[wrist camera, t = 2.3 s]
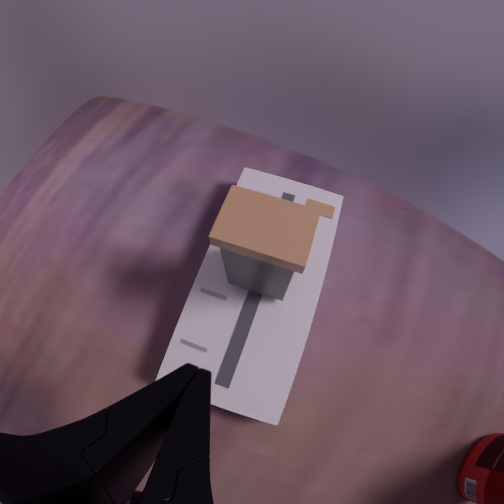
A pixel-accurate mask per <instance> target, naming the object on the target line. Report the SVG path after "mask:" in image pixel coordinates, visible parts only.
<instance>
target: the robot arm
mask: <svg viewBox="0 0 504 504" xmlns="http://www.w3.org/2000/svg"><path fill="white" fill-rule="evenodd" d="M211 379H212V373H211V371H209V370H206V369H203V368H199V367H198V366H196V365H193V364H191V363H186V364H184V365H182V366H181V367H179V368H177V369H175V370H174V371H172V372H170V373H169V374H167V375H165V376H163V377H162V378H160V379H158V380H156V381H155V382H153V383H151V384H149V385H147V386H146V387H144V388H142V389H140V390H138V391H137V392H135V393H133V394H131V395H129V396H127V397H125V398H124V399H122V400H120V401H118V402H116V403H114V404H112V405H110V406H109V407H107V409H106V408H104V409H102V410H101V411H99V412H97V413H95V414H93V415H90V416H88V417H86V418H84V419H81V420H79V421H76V422H73V423H71V424H68V425H65V426H62V427H59V428H55V429H52V430H49V431H46V432H42V433H39V434H35V435H28V436H20V435H12V434H6V433H0V504H126V502H127V501H128V499H129V498H130V503H131V504H214V503H213V497H212V491H211V483H210V457H209V456H210V411H211ZM155 459H156V460H155ZM154 461H155V463H154V465H153V468H152V470H151V473H150V475H149V478H148V480H147V483H146V485H145V488H144V490H143V493H141V492H134V491H135V489H136V488H137V486H138V485H139V483H140V482H141V480H142V479H143V477H144V476H145V474H146V473H147V471H148V470H149V468H150V467H151V465H152V464H153V462H154ZM134 495H135V496H137V498H138V499H137V498H135V497H134Z"/></svg>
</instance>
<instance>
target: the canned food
mask: <svg viewBox="0 0 504 504" xmlns="http://www.w3.org/2000/svg"><path fill="white" fill-rule="evenodd" d="M457 485H458V490H459V492H460V493H461V494H462V496H463V497H464V498H466V499H467V500H470V501H472V502H475V503H477V504H504V433H494V434H490V435H487V436H485V437H483V438H482V439H480V440H479V441H478V442H477V443H476V444H475V445H474V446H473V447H472V448H471V449H470V451H469V452H468V454H467V455H466V457H465V459H464V460H463V462H462V465H461V467H460V470H459V474H458V480H457Z"/></svg>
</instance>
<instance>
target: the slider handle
mask: <svg viewBox="0 0 504 504" xmlns="http://www.w3.org/2000/svg"><path fill="white" fill-rule="evenodd" d="M320 213H321V210H318V209H314V208H311V207H308V206H305V205H302V204H298V203H295V202H292V201H288V200H285V199H282V198H278V197H275V196H271V195H268V194H264V193H261V192H257V191H254V190H250V189H247V188H243V187H239V186H236V185H232V186H231V188H230V190H229V192H228V194H227V197H226V199H225V201H224V203H223V205H222V207H221V210H220V212H219V214H218V216H217V218H216V221H215V223H214V225H213V227H212V230H211V232H210V234H209V236H208V237H209V240H210V243H211V245H213V246H216V247H219V248H220V252H221V256H222V260H223V264H224V268H225V272H226V276H227V280H228V283H229V284H232V285H235V286H238V287H241V288H244V289H247V290H250V291H253V292H256V293H259V294H262V295H265V296H269V297H272V298H275V299H278V300H281V301H282V300H283V298H284V296H285V293H286V291H287V288H288V286H289V283H290V281H291V278H292V276H293V273H294V272H297V273H301V274H302V273H303V271H304V269H305V267H306V264H307V260H308V257H309V253H310V249H311V246H312V242H313V239H314V235H315V231H316V228H317V224H318V220H319V216H320Z"/></svg>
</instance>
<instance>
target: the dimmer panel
mask: <svg viewBox="0 0 504 504" xmlns="http://www.w3.org/2000/svg"><path fill="white" fill-rule="evenodd" d="M236 186H239V187H243V188H247V189H250V190H254V191H257V192H261V193H264V194H268V195H271V196H275V197H278V198H282V199H285V200H288V201H292V202H295V203H298V204H302V205H305V206H308V207H311V208H314V209H318V210H321V213H320V216H319V220H318V224H317V228H316V231H315V235H314V239H313V242H312V246H311V249H310V253H309V257H308V260H307V264H306V267H305V269H304V271H303V273H302V274H301V273H297V272H294V273H293V276H292V278H291V281H290V283H289V286H288V288H287V291H286V293H285V296H284V298H283V300H282V301H281V300H278V299H275V298H272V297H269V296H265V295H262V294H259V293H256V292H253V291H250V290H247V289H244V288H241V287H238V286H235V285H232V284H229V283H228V280H227V276H226V272H225V268H224V264H223V260H222V256H221V252H220V248H219V247H216V246H213V245H211V244H210V246H209V248H208V251H207V253H206V255H205V258H204V260H203V262H202V265H201V267H200V269H199V272H198V274H197V277H196V279H195V281H194V284H193V286H192V289H191V291H190V293H189V296H188V298H187V301H186V303H185V306H184V308H183V311H182V313H181V316H180V318H179V321H178V323H177V326H176V328H175V331H174V333H173V336H172V338H171V341H170V344H169V346H168V349H167V351H166V354H165V357H164V359H163V362H162V364H161V367H160V370H159V372H158V375H157V378H156V380H158V379H160V378H162V377H163V376H165V375H167V374H169V373H170V372H172V371H174V370H175V369H177V368H179V367H181V366H182V365H184V364H186V363H191V364H193V365H196V366H198V367H199V368H203V369H206V370H209V371H211V373H212V379H211V404H212V405H215V406H217V407H220V408H223V409H226V410H229V411H232V412H235V413H238V414H241V415H244V416H247V417H250V418H253V419H256V420H260V421H263V422H266V423H270V424H273V425H278V423H279V420H280V417H281V415H282V412H283V409H284V406H285V404H286V401H287V398H288V395H289V392H290V389H291V386H292V384H293V381H294V378H295V375H296V372H297V369H298V366H299V362H300V359H301V356H302V353H303V350H304V347H305V344H306V340H307V337H308V334H309V330H310V327H311V324H312V320H313V317H314V313H315V310H316V306H317V303H318V299H319V296H320V292H321V288H322V285H323V281H324V277H325V273H326V269H327V265H328V261H329V257H330V253H331V249H332V245H333V241H334V237H335V232H336V228H337V224H338V219H339V215H340V210H341V205H342V201H343V196H341V195H338V194H335V193H332V192H329V191H326V190H322V189H319V188H316V187H313V186H309V185H306V184H303V183H299V182H296V181H293V180H289V179H286V178H282V177H279V176H275V175H272V174H268V173H264V172H261V171H257V170H253V169H249V168H244V170H243V172H242V174H241V177H240V179H239V181H238V183H237V185H236ZM156 380H155V381H156Z"/></svg>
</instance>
